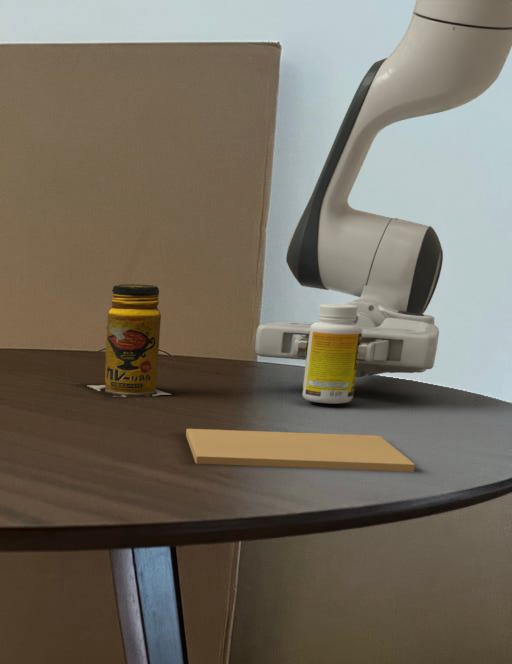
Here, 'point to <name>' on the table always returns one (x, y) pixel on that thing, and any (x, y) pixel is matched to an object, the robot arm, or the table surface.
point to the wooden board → (296, 450)
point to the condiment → (132, 342)
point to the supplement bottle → (332, 355)
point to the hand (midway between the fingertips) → (331, 350)
